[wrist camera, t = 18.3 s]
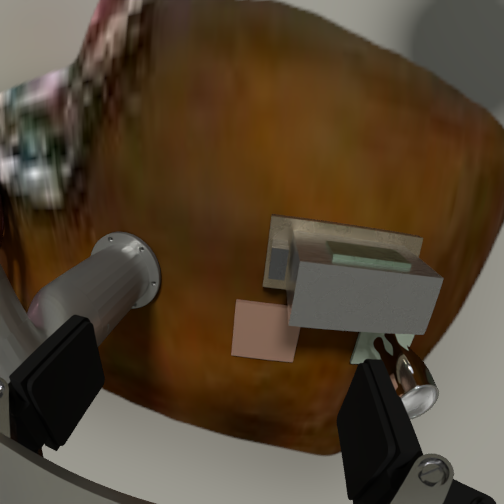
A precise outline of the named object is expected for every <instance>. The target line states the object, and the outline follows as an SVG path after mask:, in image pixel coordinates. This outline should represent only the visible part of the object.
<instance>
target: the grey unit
mask: <svg viewBox="0 0 504 504" xmlns="http://www.w3.org/2000/svg"><path fill="white" fill-rule="evenodd" d="M422 241H423V238H422V237H420V236H418V235H412V234H407V233H401V232H395V231H389V230H382V229H376V228H370V227H363V226H357V225H350V224H343V223H337V222H330V221H323V220H315V219H308V218H300V217H293V216H285V215H277V214H272V217H271V225H270V233H269V241H268V249H267V257H266V265H265V273H264V281H263V287H269V288H277V289H286V291H287V307H288V326H297V327H307V328H318V329H329V330H342V331H356V332H372V333H392V334H420V335H424V333H425V330H426V328H427V325H428V323H429V320H430V317H431V315H432V312H433V309H434V306H435V303H436V300H437V297H438V294H439V291H440V288H441V285H442V282H443V279H444V278H443V277H441V276H440V275H439V274H438V273H437V272H435V271H434V270H433V269H432V268H431V267H429V266H428V265H427V264H426V263H425V262H423V261H422V260H421V259H420V258H419V254H420V250H421V245H422Z"/></svg>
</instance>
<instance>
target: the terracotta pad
mask: <svg viewBox="0 0 504 504" xmlns="http://www.w3.org/2000/svg"><path fill="white" fill-rule="evenodd" d="M299 331H300V327H297V326H288V307H287V305H279V304H270V303H262V302H254V301H246V300H239V299H237V301H236V309H235V320H234V331H233V343H232V354H231V355H234V356H241V357H249V358H257V359H265V360H274V361H284V362H293V358H294V354H295V350H296V345H297V341H298V336H299Z"/></svg>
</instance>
